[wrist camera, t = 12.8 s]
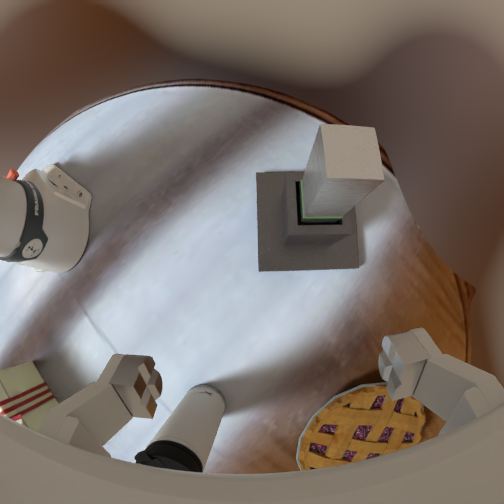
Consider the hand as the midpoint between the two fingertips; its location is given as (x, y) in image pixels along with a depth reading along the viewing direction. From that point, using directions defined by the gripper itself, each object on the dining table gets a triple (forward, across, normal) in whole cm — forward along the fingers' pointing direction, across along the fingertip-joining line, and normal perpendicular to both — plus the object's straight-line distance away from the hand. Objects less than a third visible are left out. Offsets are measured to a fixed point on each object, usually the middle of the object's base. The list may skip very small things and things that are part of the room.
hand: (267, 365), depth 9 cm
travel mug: (+20, +11, +27) cm, 36 cm away
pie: (+16, -13, +36) cm, 41 cm away
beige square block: (+27, -6, +2) cm, 27 cm away
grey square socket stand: (+32, -6, +4) cm, 33 cm away
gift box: (+17, +50, +31) cm, 61 cm away
